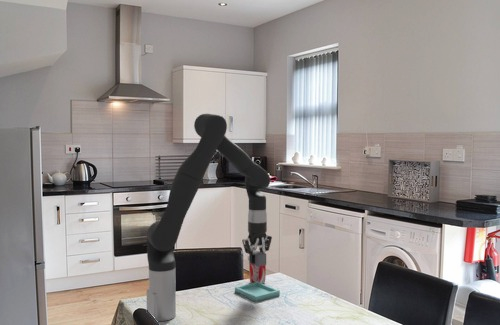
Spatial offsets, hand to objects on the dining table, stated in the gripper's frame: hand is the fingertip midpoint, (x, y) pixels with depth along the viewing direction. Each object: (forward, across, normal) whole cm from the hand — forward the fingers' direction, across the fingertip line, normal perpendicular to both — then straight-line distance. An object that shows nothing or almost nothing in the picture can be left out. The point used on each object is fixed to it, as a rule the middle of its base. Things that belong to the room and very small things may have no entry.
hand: (257, 262), depth 180 cm
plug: (+1, 0, 0) cm, 1 cm away
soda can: (+13, +9, +11) cm, 19 cm away
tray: (+13, 0, 0) cm, 13 cm away
